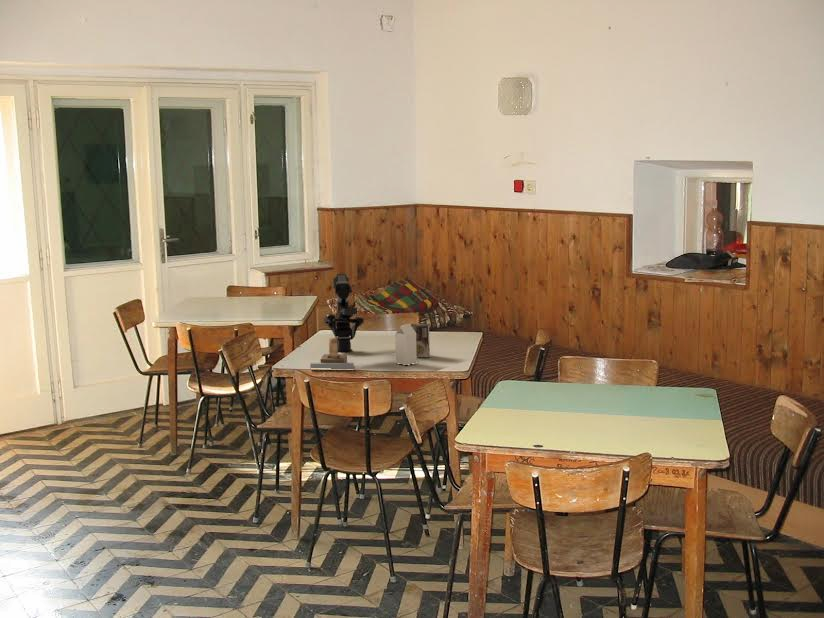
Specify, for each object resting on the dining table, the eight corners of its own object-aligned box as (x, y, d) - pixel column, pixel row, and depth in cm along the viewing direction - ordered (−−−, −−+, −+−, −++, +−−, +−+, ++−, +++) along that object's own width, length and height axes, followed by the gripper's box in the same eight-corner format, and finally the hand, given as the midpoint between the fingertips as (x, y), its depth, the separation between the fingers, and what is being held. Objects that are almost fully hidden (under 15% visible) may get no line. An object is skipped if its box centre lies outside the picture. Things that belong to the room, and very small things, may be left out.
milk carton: (416, 363, 456) (416, 324, 453) (406, 366, 451) (405, 326, 448) (405, 361, 461) (405, 322, 458) (395, 364, 456) (394, 325, 453)
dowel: (328, 364, 452) (327, 338, 450) (336, 364, 453) (335, 337, 451) (331, 366, 448) (330, 339, 446) (339, 365, 450) (338, 338, 447)
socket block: (324, 364, 457) (324, 354, 457) (347, 364, 457) (346, 354, 456) (320, 369, 447) (320, 359, 446) (344, 369, 446) (343, 359, 445)
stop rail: (311, 370, 447) (311, 362, 446) (353, 370, 446) (353, 362, 445) (310, 371, 445) (310, 363, 444) (353, 371, 444) (353, 363, 443)
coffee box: (430, 355, 474) (429, 323, 471) (428, 358, 467) (428, 325, 464) (411, 355, 475) (411, 323, 472) (410, 358, 468) (409, 325, 465)
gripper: (330, 299, 455) (331, 329, 449) (367, 302, 462) (368, 332, 457) (323, 307, 465) (324, 337, 459) (359, 310, 472) (360, 340, 466)
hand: (344, 336), depth 460 cm, fingers open, 9 cm apart
